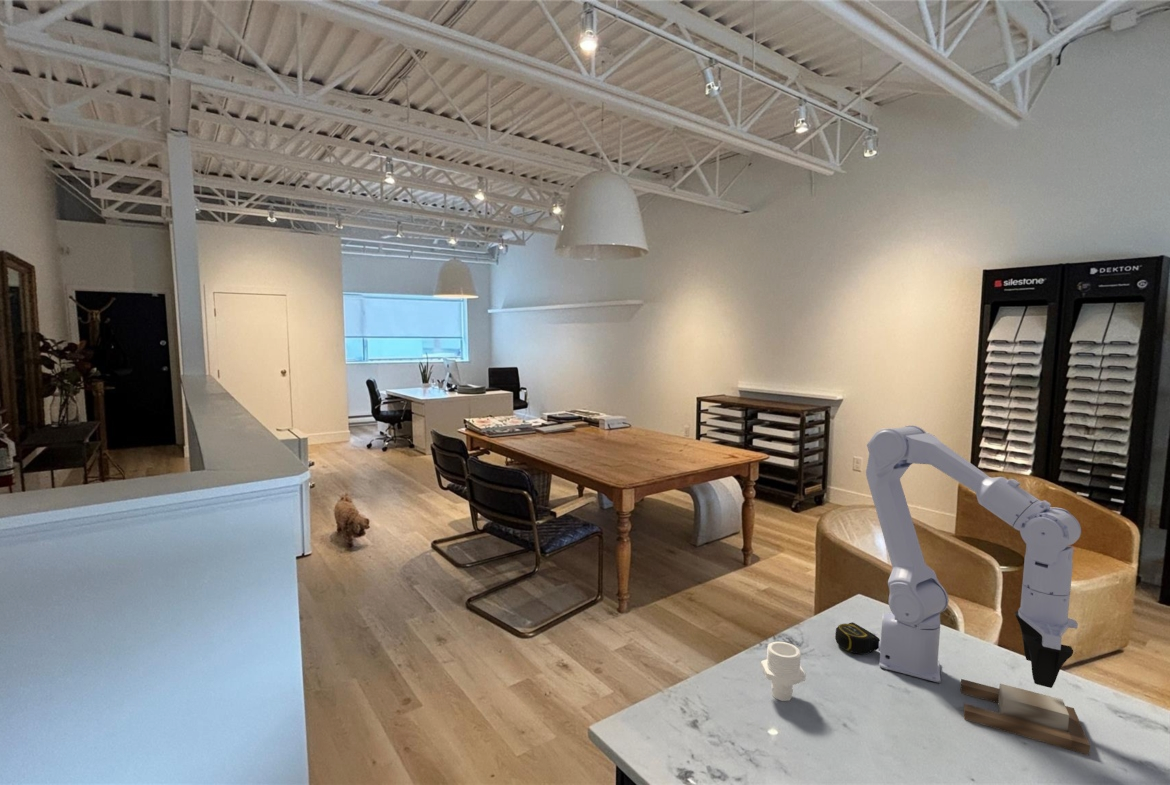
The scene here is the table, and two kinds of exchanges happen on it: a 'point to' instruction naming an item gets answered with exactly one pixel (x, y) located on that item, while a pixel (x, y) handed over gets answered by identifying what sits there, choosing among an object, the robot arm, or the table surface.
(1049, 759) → the table surface
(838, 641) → the tape measure
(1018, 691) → the beige rectangular block
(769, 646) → the pipe fitting
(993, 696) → the brown frame section
